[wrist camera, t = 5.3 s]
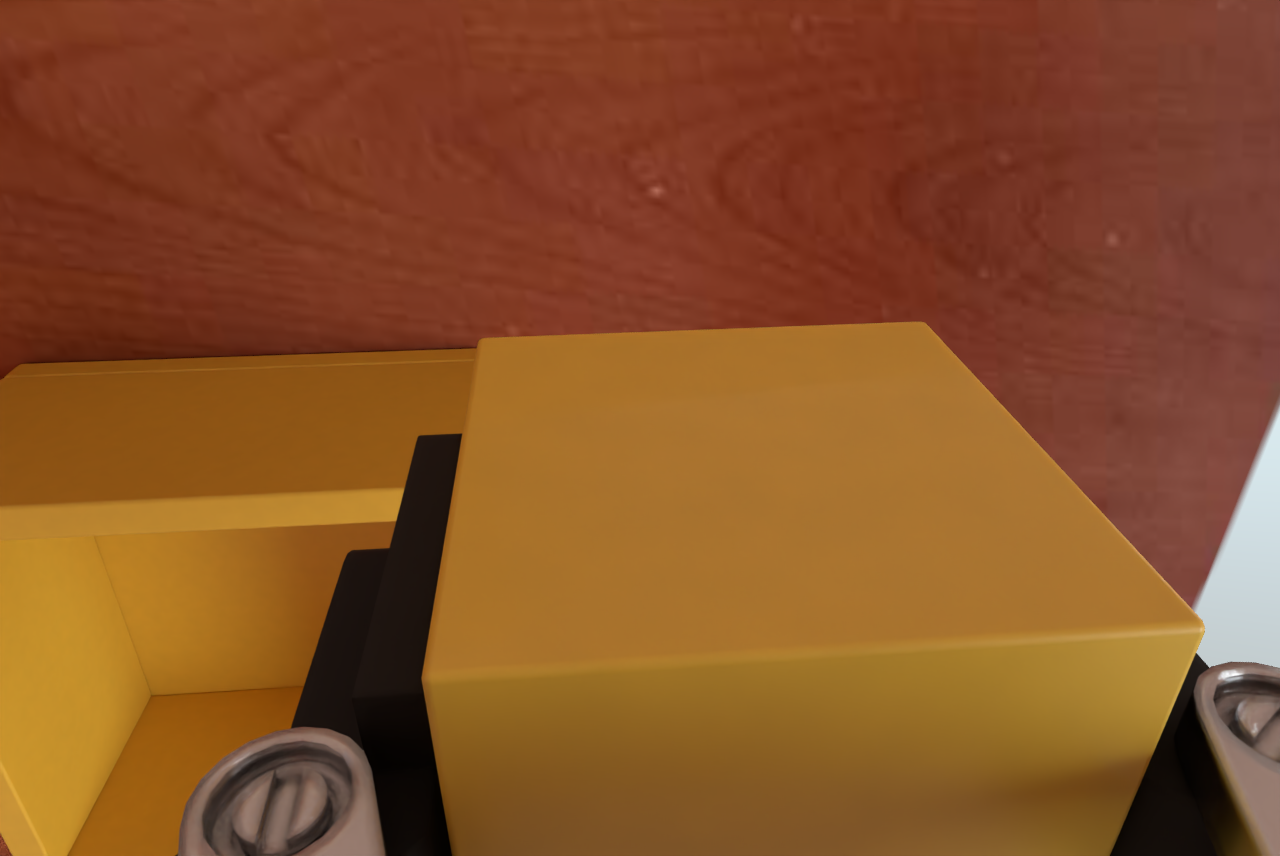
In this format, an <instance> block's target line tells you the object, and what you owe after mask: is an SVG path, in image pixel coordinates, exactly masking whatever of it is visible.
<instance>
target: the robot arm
mask: <svg viewBox="0 0 1280 856" xmlns="http://www.w3.org/2000/svg"><path fill="white" fill-rule="evenodd" d="M461 439H462V433H459V434H438V435H420V436H418V438H417V441H416V445H415V449H414V453H413V457H412V461H411V465H410V469H409V473H408V477H407V480H406V484H405V488H404V492H403V496H402V500H401V504H400V508H399V512H398V516H397V520H396V524H395V528H394V532H393V536H392V540H391V544H390V548H381V549H363V550H351V551H350V552H349V553H347V556H346V558H345V560H344V562H343V565H342V568H341V571H340V575H339V578H338V581H337V584H336V587H335V590H334V593H333V596H332V600H331V603H330V606H329V609H328V612H327V615H326V618H325V622H324V625H323V628H322V631H321V634H320V637H319V640H318V644H317V647H316V650H315V653H314V656H313V659H312V662H311V666H310V669H309V672H308V675H307V678H306V681H305V684H304V688H303V691H302V694H301V697H300V700H299V703H298V706H297V710H296V713H295V716H294V719H293V722H292V725H291V728H290V729H286V730H280V731H275V732H272V733H270V734H267V735H265V736H262V737H259V738H257V739H254V740H252V741H249V742H247V743H246V744H244V745H242V746H241V747H239V748H238V749H236V750H235V751H233V752H231V753H230V754H228V755H227V756H225V757H224V758H222V759H221V760H220V761H219V762H218V763H217V764H216V765H215V766H214V767H213V768H212V769H211V770H210V771H209V772H208V773H207V774H206V775H205V776H204V777H203V778H202V779H201V780H200V782H199V783H198V785H197V786H196V788H195V790H194V791H193V793H192V794H191V796H190V798H189V799H188V801H187V802H186V805H185V809H184V813H183V817H182V821H181V825H180V830H179V846H178V854H177V855H175V856H452V852H451V847H450V841H449V835H448V829H447V823H446V818H445V812H444V806H443V800H442V795H441V789H440V783H439V777H438V771H437V766H436V760H435V754H434V748H433V742H432V737H431V731H430V725H429V719H428V713H427V708H426V702H425V696H424V690H423V684H422V679H421V678H422V672H423V666H424V660H425V654H426V648H427V642H428V636H429V630H430V624H431V618H432V612H433V606H434V600H435V594H436V588H437V582H438V576H439V570H440V564H441V558H442V552H443V546H444V540H445V534H446V528H447V522H448V516H449V510H450V504H451V498H452V493H453V487H454V481H455V475H456V469H457V463H458V457H459V451H460V445H461ZM1110 856H1280V668H1277V667H1273V666H1268V665H1264V664H1259V663H1252V662H1228V663H1224V664H1220V665H1216V666H1212V667H1210V668H1209V667H1208V666H1207V665H1206V663H1205V662H1204V661H1203V660H1202V659H1201V658H1200V657H1199V656H1198V654H1197V653H1196V654H1195V656H1194V658H1193V661H1192V663H1191V666H1190V668H1189V670H1188V673H1187V675H1186V677H1185V680H1184V682H1183V684H1182V687H1181V689H1180V691H1179V694H1178V696H1177V699H1176V701H1175V703H1174V706H1173V708H1172V710H1171V713H1170V715H1169V717H1168V720H1167V722H1166V724H1165V727H1164V729H1163V732H1162V734H1161V736H1160V739H1159V741H1158V743H1157V746H1156V748H1155V750H1154V753H1153V755H1152V757H1151V760H1150V762H1149V765H1148V767H1147V769H1146V772H1145V774H1144V776H1143V779H1142V781H1141V783H1140V786H1139V788H1138V790H1137V793H1136V795H1135V797H1134V800H1133V802H1132V805H1131V807H1130V809H1129V812H1128V814H1127V816H1126V819H1125V821H1124V823H1123V826H1122V828H1121V830H1120V833H1119V835H1118V838H1117V840H1116V842H1115V845H1114V847H1113V849H1112V852H1111V854H1110Z"/></svg>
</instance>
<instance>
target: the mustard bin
mask: <svg viewBox="0 0 1280 856" xmlns="http://www.w3.org/2000/svg"><path fill="white" fill-rule="evenodd" d="M476 349H477V348H472V349H443V350H414V351H385V352H356V353H327V354H297V355H268V356H239V357H210V358H181V359H152V360H123V361H93V362H64V363H35V364H20V365H18V366H17V367H16V368H14V369H13V370H12V371H11V372H9V373H8V374H7V375H6V376H5V378H3V379H1V380H0V834H1V836H2V838H3V839H4V841H5V843H6V845H7V847H8V849H9V851H10V853H11V854H12V856H175V855H177V854H178V846H179V830H180V825H181V821H182V817H183V813H184V809H185V805H186V802H187V801H188V799H189V798H190V796H191V794H192V793H193V791H194V790H195V788H196V786H197V785H198V783H199V782H200V780H201V779H202V778H203V777H204V776H205V775H206V774H207V773H208V772H209V771H210V770H211V769H212V768H213V767H214V766H215V765H216V764H217V763H218V762H219V761H220V760H221V759H222V758H224V757H225V756H227V755H228V754H230V753H231V752H233V751H235V750H236V749H238V748H239V747H241V746H242V745H244V744H246V743H247V742H249V741H252V740H254V739H257V738H259V737H262V736H265V735H267V734H270V733H272V732H275V731H280V730H286V729H290V728H291V725H292V722H293V719H294V716H295V713H296V710H297V706H298V703H299V700H300V697H301V694H302V691H303V688H304V684H305V681H306V678H307V675H308V672H309V669H310V666H311V662H312V659H313V656H314V653H315V650H316V647H317V644H318V640H319V637H320V634H321V631H322V628H323V625H324V622H325V618H326V615H327V612H328V609H329V606H330V603H331V600H332V596H333V593H334V590H335V587H336V584H337V581H338V578H339V575H340V571H341V568H342V565H343V562H344V560H345V558H346V556H347V553H349V552H350V551H351V550H363V549H381V548H390V544H391V540H392V536H393V532H394V528H395V524H396V520H397V516H398V512H399V508H400V504H401V500H402V496H403V492H404V488H405V484H406V480H407V477H408V473H409V469H410V465H411V461H412V457H413V453H414V449H415V445H416V441H417V438H418V436H420V435H438V434H459V433H463V427H464V421H465V415H466V409H467V403H468V397H469V391H470V385H471V379H472V373H473V367H474V361H475V355H476Z"/></svg>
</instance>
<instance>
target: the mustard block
mask: <svg viewBox="0 0 1280 856" xmlns="http://www.w3.org/2000/svg"><path fill="white" fill-rule="evenodd" d="M1204 629H1205V627H1204V624H1203V621H1202V620H1201V619H1200V618H1199V617H1198V615H1197V614H1196V613H1195V612H1194V611H1193V610H1192V609H1191V608H1190V607H1189V606H1188V605H1187V604H1186V602H1185V601H1184V600H1183V599H1182V598H1181V597H1180V596H1179V595H1178V594H1177V593H1176V592H1175V591H1174V590H1173V589H1172V587H1171V586H1170V585H1169V584H1168V583H1167V582H1166V581H1165V580H1164V579H1163V578H1162V577H1161V576H1160V575H1159V573H1158V572H1157V571H1156V570H1155V569H1154V568H1153V567H1152V566H1151V565H1150V564H1149V563H1148V562H1147V561H1146V560H1145V558H1144V557H1143V556H1142V555H1141V554H1140V553H1139V552H1138V551H1137V550H1136V549H1135V548H1134V547H1133V546H1132V544H1131V543H1130V542H1129V541H1128V540H1127V539H1126V538H1125V537H1124V536H1123V535H1122V534H1121V533H1120V532H1119V531H1118V529H1117V528H1116V527H1115V526H1114V525H1113V524H1112V523H1111V522H1110V521H1109V520H1108V519H1107V518H1106V517H1105V515H1104V514H1103V513H1102V512H1101V511H1100V510H1099V509H1098V508H1097V507H1096V506H1095V505H1094V504H1093V503H1092V502H1091V500H1090V499H1089V498H1088V497H1087V496H1086V495H1085V494H1084V493H1083V492H1082V491H1081V490H1080V489H1079V488H1078V486H1077V485H1076V484H1075V483H1074V482H1073V481H1072V480H1071V479H1070V478H1069V477H1068V476H1067V475H1066V474H1065V473H1064V471H1063V470H1062V469H1061V468H1060V467H1059V466H1058V465H1057V464H1056V463H1055V462H1054V461H1053V460H1052V459H1051V457H1050V456H1049V455H1048V454H1047V453H1046V452H1045V451H1044V450H1043V449H1042V448H1041V447H1040V446H1039V445H1038V444H1037V442H1036V441H1035V440H1034V439H1033V438H1032V437H1031V436H1030V435H1029V434H1028V433H1027V432H1026V431H1025V430H1024V428H1023V427H1022V426H1021V425H1020V424H1019V423H1018V422H1017V421H1016V420H1015V419H1014V418H1013V417H1012V416H1011V415H1010V413H1009V412H1008V411H1007V410H1006V409H1005V408H1004V407H1003V406H1002V405H1001V404H1000V403H999V402H998V401H997V399H996V398H995V397H994V396H993V395H992V394H991V393H990V392H989V391H988V390H987V389H986V388H985V387H984V386H983V384H982V383H981V382H980V381H979V380H978V379H977V378H976V377H975V376H974V375H973V374H972V373H971V372H970V370H969V369H968V368H967V367H966V366H965V365H964V364H963V363H962V362H961V361H960V360H959V359H958V358H957V357H956V355H955V354H954V353H953V352H952V351H951V350H950V349H949V348H948V347H947V346H946V345H945V344H944V343H943V341H942V340H941V339H940V338H939V337H938V336H937V335H936V334H935V333H934V332H933V331H932V330H931V329H930V328H929V326H928V325H927V324H926V323H923V322H898V323H871V324H844V325H818V326H791V327H764V328H738V329H711V330H684V331H658V332H631V333H604V334H578V335H551V336H524V337H498V338H483V339H480V340H479V341H478V344H477V349H476V355H475V361H474V367H473V373H472V379H471V385H470V391H469V397H468V403H467V409H466V415H465V421H464V427H463V433H462V439H461V445H460V451H459V457H458V463H457V469H456V475H455V481H454V487H453V493H452V498H451V504H450V510H449V516H448V522H447V528H446V534H445V540H444V546H443V552H442V558H441V564H440V570H439V576H438V582H437V588H436V594H435V600H434V606H433V612H432V618H431V624H430V630H429V636H428V642H427V648H426V654H425V660H424V666H423V672H422V678H421V679H422V684H423V690H424V696H425V702H426V708H427V713H428V719H429V725H430V731H431V737H432V742H433V748H434V754H435V760H436V766H437V771H438V777H439V783H440V789H441V795H442V800H443V806H444V812H445V818H446V823H447V829H448V835H449V841H450V847H451V852H452V856H1110V854H1111V852H1112V849H1113V847H1114V845H1115V842H1116V840H1117V838H1118V835H1119V833H1120V830H1121V828H1122V826H1123V823H1124V821H1125V819H1126V816H1127V814H1128V812H1129V809H1130V807H1131V805H1132V802H1133V800H1134V797H1135V795H1136V793H1137V790H1138V788H1139V786H1140V783H1141V781H1142V779H1143V776H1144V774H1145V772H1146V769H1147V767H1148V765H1149V762H1150V760H1151V757H1152V755H1153V753H1154V750H1155V748H1156V746H1157V743H1158V741H1159V739H1160V736H1161V734H1162V732H1163V729H1164V727H1165V724H1166V722H1167V720H1168V717H1169V715H1170V713H1171V710H1172V708H1173V706H1174V703H1175V701H1176V699H1177V696H1178V694H1179V691H1180V689H1181V687H1182V684H1183V682H1184V680H1185V677H1186V675H1187V673H1188V670H1189V668H1190V666H1191V663H1192V661H1193V658H1194V656H1195V654H1196V651H1197V649H1198V647H1199V644H1200V642H1201V640H1202V637H1203V635H1204V632H1205V630H1204Z"/></svg>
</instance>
